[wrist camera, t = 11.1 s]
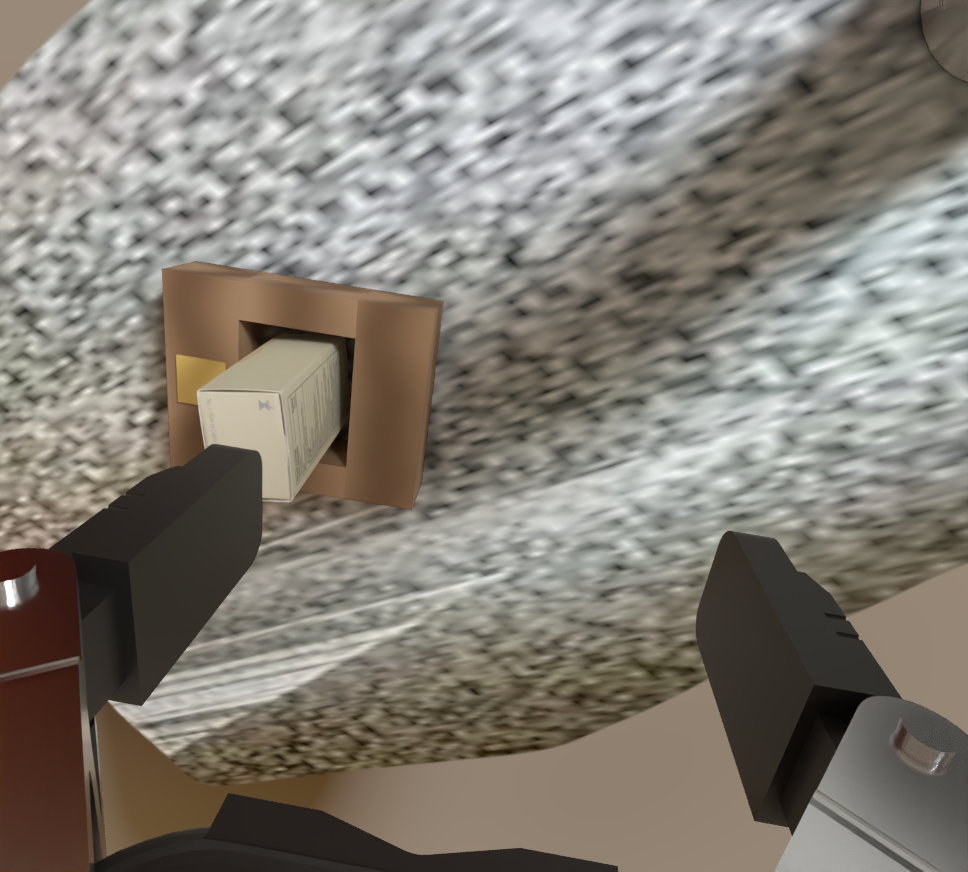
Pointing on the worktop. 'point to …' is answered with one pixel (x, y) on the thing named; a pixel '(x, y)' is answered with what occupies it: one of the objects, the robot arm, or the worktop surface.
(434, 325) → the brown square frame block
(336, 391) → the skincare box
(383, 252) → the worktop surface
